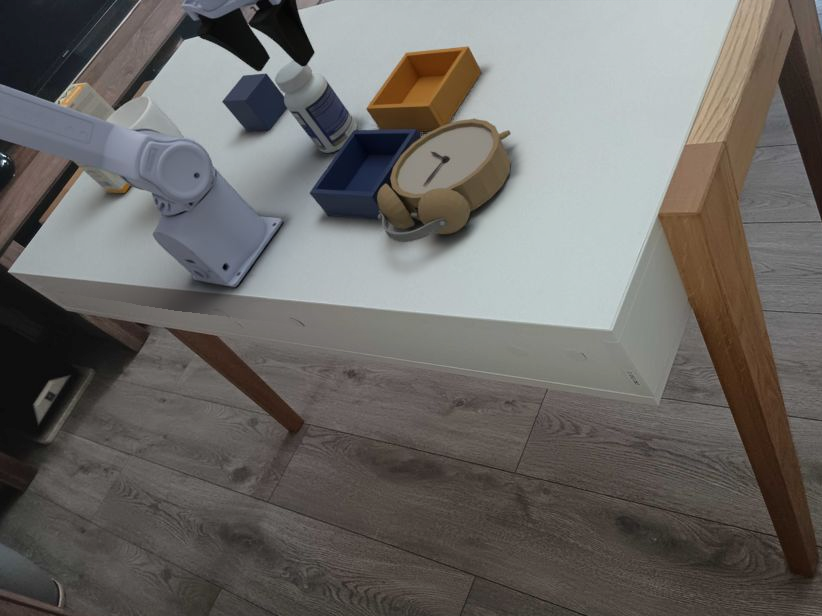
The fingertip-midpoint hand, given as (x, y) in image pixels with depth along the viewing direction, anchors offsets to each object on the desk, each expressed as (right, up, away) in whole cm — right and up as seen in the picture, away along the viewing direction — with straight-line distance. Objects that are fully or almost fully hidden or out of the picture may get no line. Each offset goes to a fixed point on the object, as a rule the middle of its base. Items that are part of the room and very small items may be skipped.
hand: (285, 62), depth 81 cm
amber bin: (+16, -3, +3) cm, 16 cm away
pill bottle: (+5, -6, +8) cm, 11 cm away
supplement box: (-29, -6, +29) cm, 41 cm away
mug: (-16, -10, +17) cm, 25 cm away
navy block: (-7, 0, +19) cm, 20 cm away
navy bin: (+10, -14, -2) cm, 17 cm away
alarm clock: (+18, -17, -9) cm, 26 cm away
